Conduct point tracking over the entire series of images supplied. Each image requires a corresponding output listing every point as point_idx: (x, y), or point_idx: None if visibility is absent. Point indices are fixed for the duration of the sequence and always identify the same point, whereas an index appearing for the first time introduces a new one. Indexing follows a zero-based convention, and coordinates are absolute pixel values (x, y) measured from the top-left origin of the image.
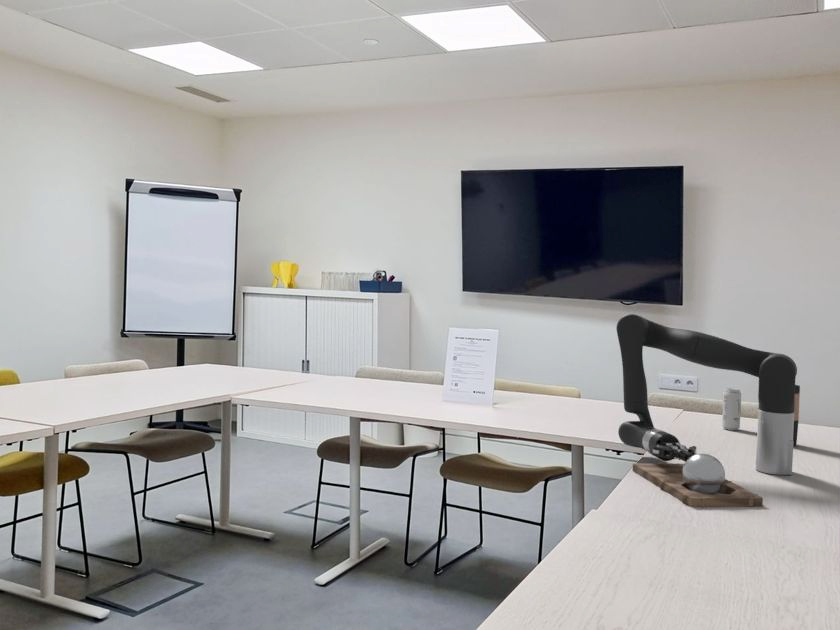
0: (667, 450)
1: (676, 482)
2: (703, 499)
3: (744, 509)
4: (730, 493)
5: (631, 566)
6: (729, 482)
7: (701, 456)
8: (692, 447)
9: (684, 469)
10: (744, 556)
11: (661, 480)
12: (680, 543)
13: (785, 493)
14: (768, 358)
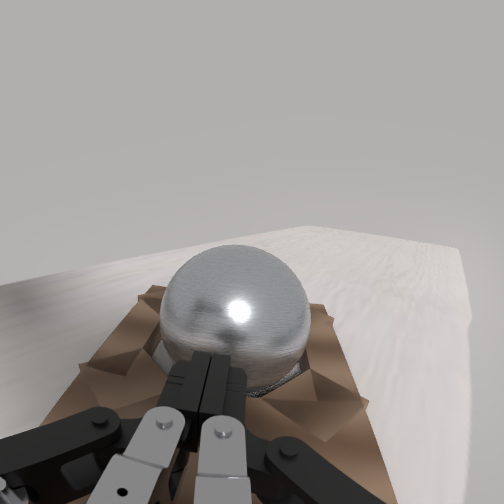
0: (325, 467)
1: (312, 390)
2: None
3: None
4: (153, 347)
5: (411, 256)
6: (102, 358)
7: (263, 250)
8: (4, 458)
9: (310, 316)
10: (317, 249)
11: (364, 410)
12: (370, 265)
13: (5, 323)
14: None
